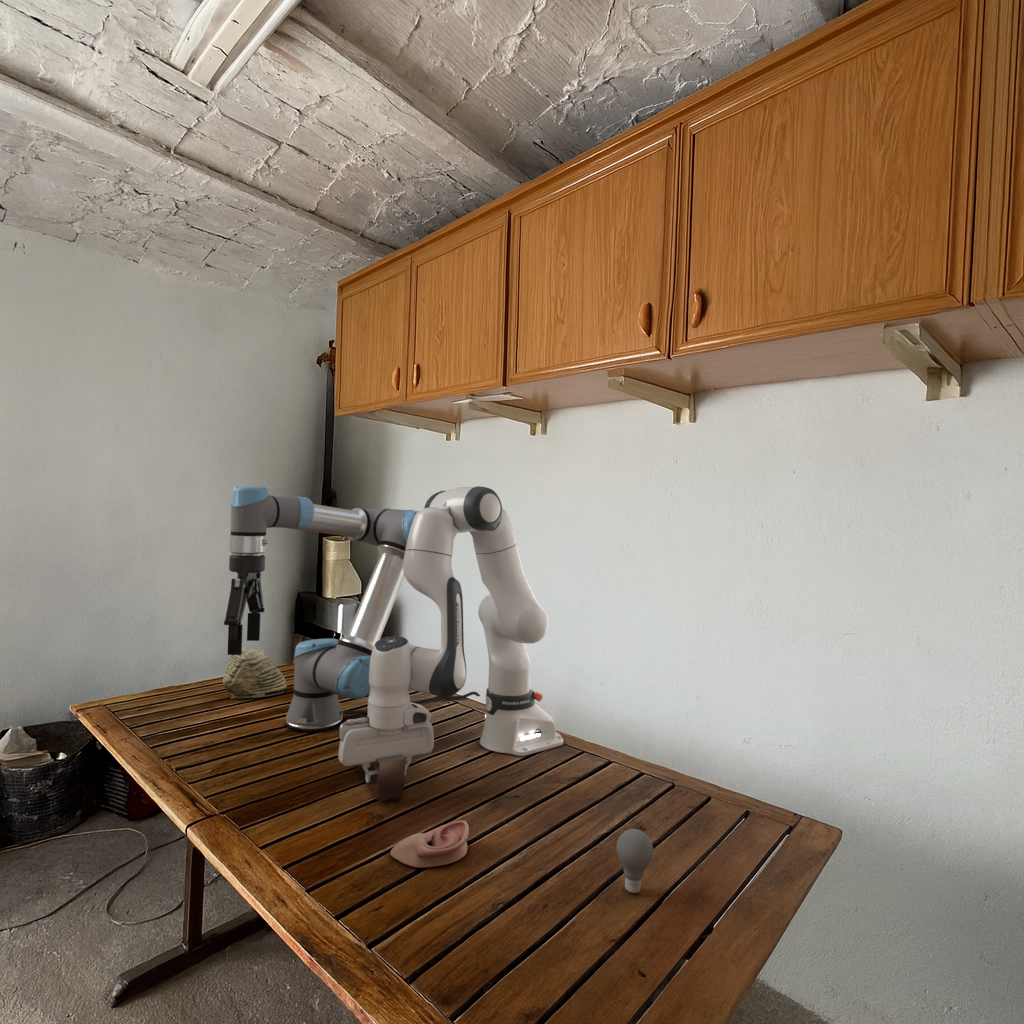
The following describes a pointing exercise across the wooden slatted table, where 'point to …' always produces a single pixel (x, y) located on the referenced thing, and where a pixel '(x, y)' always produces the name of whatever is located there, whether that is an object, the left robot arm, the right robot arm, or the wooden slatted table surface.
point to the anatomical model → (434, 846)
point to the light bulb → (634, 857)
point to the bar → (386, 777)
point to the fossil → (253, 675)
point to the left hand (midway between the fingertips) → (244, 647)
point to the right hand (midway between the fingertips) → (386, 778)
